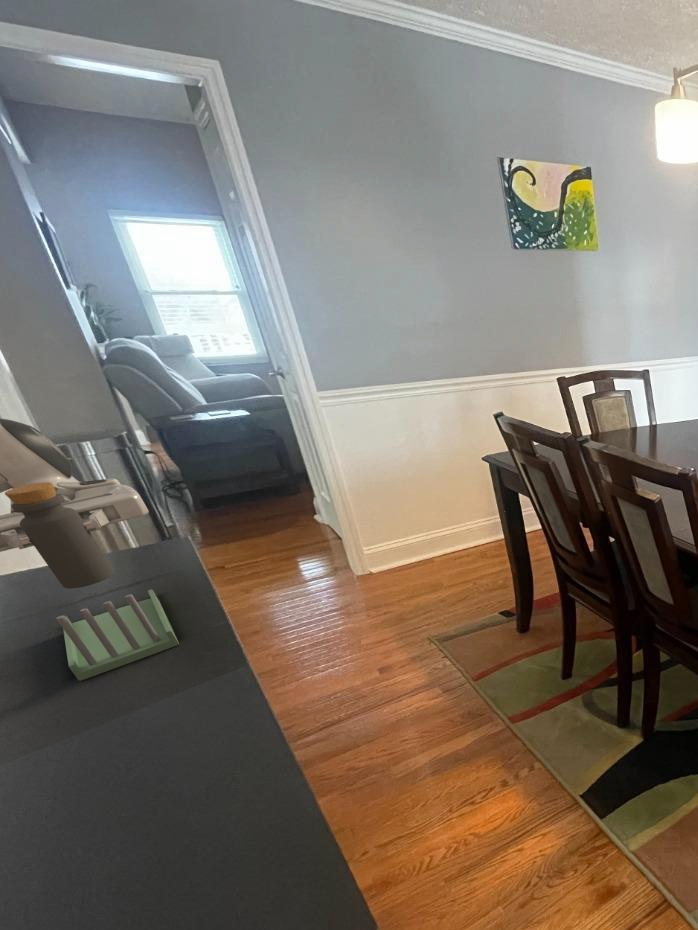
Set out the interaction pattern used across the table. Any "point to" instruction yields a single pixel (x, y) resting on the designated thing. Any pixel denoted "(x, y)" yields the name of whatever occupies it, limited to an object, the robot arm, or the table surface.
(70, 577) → the bottle
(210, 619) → the table surface
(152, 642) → the drying rack
